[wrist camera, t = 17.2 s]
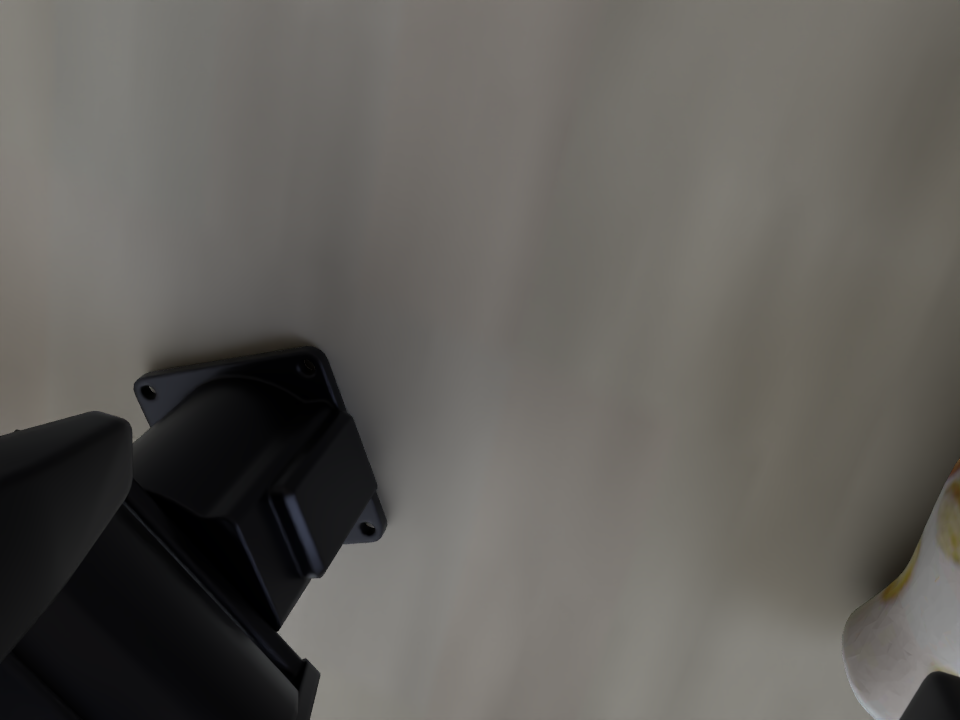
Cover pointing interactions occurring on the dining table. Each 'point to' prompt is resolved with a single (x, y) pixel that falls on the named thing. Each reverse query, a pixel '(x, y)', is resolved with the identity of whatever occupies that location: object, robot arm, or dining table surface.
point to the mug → (910, 618)
